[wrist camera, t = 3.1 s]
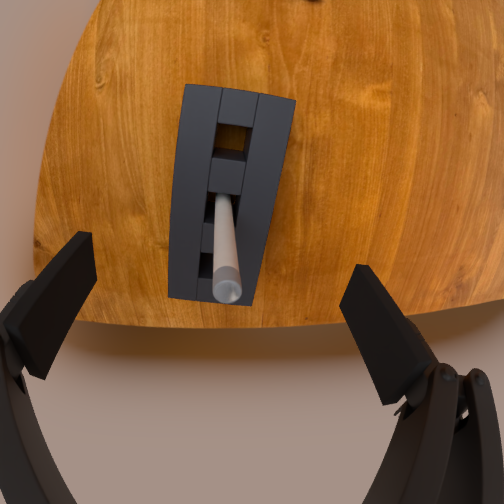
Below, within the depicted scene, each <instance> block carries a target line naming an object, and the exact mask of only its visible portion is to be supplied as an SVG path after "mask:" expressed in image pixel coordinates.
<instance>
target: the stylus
mask: <svg viewBox="0 0 504 504" xmlns="http://www.w3.org/2000/svg"><path fill="white" fill-rule="evenodd" d="M241 294H242V285H241V278H240V273H239V265H238V257H237V249H236V240H235V232H234V223H233V215H232V206H231V197H230V194H224V193H216V200H215V226H214V263H213V295H214V297H215V298H216V300H218V301H219V302H222V303H233V302H235V301H237V300H238V299H239V298H240V296H241Z"/></svg>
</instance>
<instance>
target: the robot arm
mask: <svg viewBox="0 0 504 504" xmlns="http://www.w3.org/2000/svg"><path fill="white" fill-rule="evenodd" d="M96 281H97V275H96V267H95V260H94V251H93V242H92V233H91V232H83V231H78V232H77V233H76V234H75V235H74V236H73V237H72V238H71V239H70V240H69V242H68V243H67V244H66V245H65V246H64V247H63V248H62V249H61V250H60V251H59V252H58V253H57V255H56V256H55V257H54V258H53V259H52V260H51V261H50V262H49V264H48V265H47V266H46V267H45V268H44V269H43V271H42V272H41V273H40V274H39V275H38V276H37V278H36V279H35V280H34V281H33V280H29V281H28V282H26V283H25V284H23V285H22V286H21V287H20V288H19V289H18V291H17V292H16V293H15V296H13V297H12V298H11V299H10V302H8V303H7V305H6V306H5V308H4V309H3V310H2V311H1V313H0V489H1V491H2V494H3V496H4V499H5V501H6V503H7V504H77V503H76V501H75V499H74V498H73V496H72V494H71V493H70V491H69V489H68V488H67V486H66V484H65V482H64V480H63V478H62V476H61V474H60V472H59V471H58V468H57V466H56V464H55V462H54V460H53V458H52V456H51V453H50V451H49V449H48V447H47V444H46V442H45V439H44V437H43V435H42V432H41V429H40V427H39V424H38V421H37V418H36V416H35V413H34V410H33V407H32V404H31V400H30V397H29V394H28V390H27V387H26V383H25V379H24V376H23V374H22V372H21V371H22V369H23V367H24V365H25V367H26V369H27V370H28V372H29V374H30V375H32V376H35V377H37V378H40V379H43V380H45V379H46V376H47V374H48V372H49V370H50V368H51V365H52V363H53V361H54V359H55V357H56V355H57V353H58V351H59V349H60V347H61V345H62V343H63V341H64V338H65V337H66V335H67V333H68V330H69V329H70V327H71V325H72V323H73V322H74V320H75V318H76V316H77V314H78V312H79V311H80V309H81V307H82V305H83V303H84V302H85V300H86V298H87V297H88V295H89V293H90V291H91V290H92V288H93V286H94V285H95V283H96ZM339 307H340V309H341V311H342V313H343V316H344V318H345V320H346V322H347V324H348V326H349V328H350V331H351V333H352V335H353V337H354V339H355V341H356V344H357V346H358V348H359V350H360V353H361V355H362V357H363V359H364V362H365V364H366V366H367V368H368V371H369V373H370V375H371V378H372V380H373V383H374V385H375V388H376V390H377V392H378V395H379V397H380V400H381V402H382V404H383V405H389V404H394V403H397V402H398V401H399V400H400V399H401V398H402V397H403V396H404V395H405V396H406V399H407V401H406V402H405V403H404V404H403V405H402V406H401V407H400V408H399V409H398V410H397V411H396V412H395V414H394V416H396V415H397V414H398V413H399V412H401V413H400V416H399V419H398V422H397V425H396V428H395V431H394V433H393V436H392V439H391V441H390V444H389V447H388V449H387V452H386V454H385V456H384V459H383V461H382V464H381V466H380V468H379V470H378V473H377V475H376V477H375V479H374V481H373V483H372V485H371V488H370V489H369V492H368V493H367V495H366V497H365V499H364V501H363V503H362V504H504V468H503V455H502V446H501V438H500V431H499V424H498V419H497V413H496V408H495V404H494V399H493V395H492V390H491V386H490V382H489V380H488V377H487V376H486V374H485V373H484V372H483V371H482V370H480V369H477V368H474V369H472V370H471V371H470V372H469V373H468V374H467V376H462V375H458V374H457V372H456V371H455V369H454V368H453V367H451V366H450V365H448V364H445V363H439V362H438V360H437V358H436V357H435V355H434V353H433V352H432V350H431V349H430V347H429V345H428V344H427V342H425V339H424V338H423V336H422V335H421V333H420V331H419V330H418V328H417V327H416V325H415V324H413V323H412V322H411V321H410V320H409V319H408V318H405V316H404V315H403V313H402V312H401V310H400V309H399V307H398V306H397V304H396V303H395V302H394V300H393V299H392V297H391V296H390V294H389V293H388V292H387V290H386V289H385V287H384V286H383V285H382V283H381V282H380V280H379V279H378V278H377V276H376V275H375V274H374V272H373V271H372V269H371V268H370V267H369V265H361V264H356V266H355V268H354V271H353V274H352V276H351V279H350V281H349V283H348V286H347V288H346V291H345V293H344V295H343V298H342V300H341V302H340V305H339ZM467 409H468V413H469V415H468V416H467V417H466V418H464V419H463V417H462V414H463V413H464V412H465V411H466V410H467Z"/></svg>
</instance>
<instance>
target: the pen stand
mask: <svg viewBox="0 0 504 504" xmlns="http://www.w3.org/2000/svg"><path fill="white" fill-rule="evenodd" d="M295 105H296V100H292V99H288V98H283V97H278V96H273V95H268V94H263V93H257V92H251V91H245V90H238V89H231V88H222V87H215V86H206V85H195V84H185V89H184V95H183V102H182V108H181V115H180V122H179V130H178V138H177V146H176V155H175V164H174V175H173V186H172V199H171V214H170V232H169V260H168V298H175V299H183V300H192V301H201V302H211V303H221V304H223V303H222V302H219V301H218V300H216V298H215V297H214V295H213V263H214V226H215V202H213V201H208V194H209V192H216V193H224V194H232V195H236V196H235V202H234V204H231V206H232V215H233V223H234V232H235V240H236V249H237V257H238V265H239V273H240V278H241V285H242V294H241V296H240V298H239V299H238V300H237V301H235V302H233V303H224V304H230V305H241V306H252V303H253V298H254V294H255V289H256V285H257V281H258V276H259V272H260V267H261V263H262V258H263V254H264V249H265V245H266V240H267V236H268V231H269V227H270V222H271V218H272V213H273V209H274V204H275V199H276V195H277V190H278V185H279V181H280V176H281V171H282V167H283V162H284V157H285V153H286V148H287V143H288V138H289V134H290V129H291V124H292V119H293V114H294V109H295ZM219 123H221V124H229V125H236V126H243V127H247V132H246V138H245V143H244V149H243V151H239V150H232V149H225V148H217V147H216V148H215V144H216V137H217V131H218V125H219Z"/></svg>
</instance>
